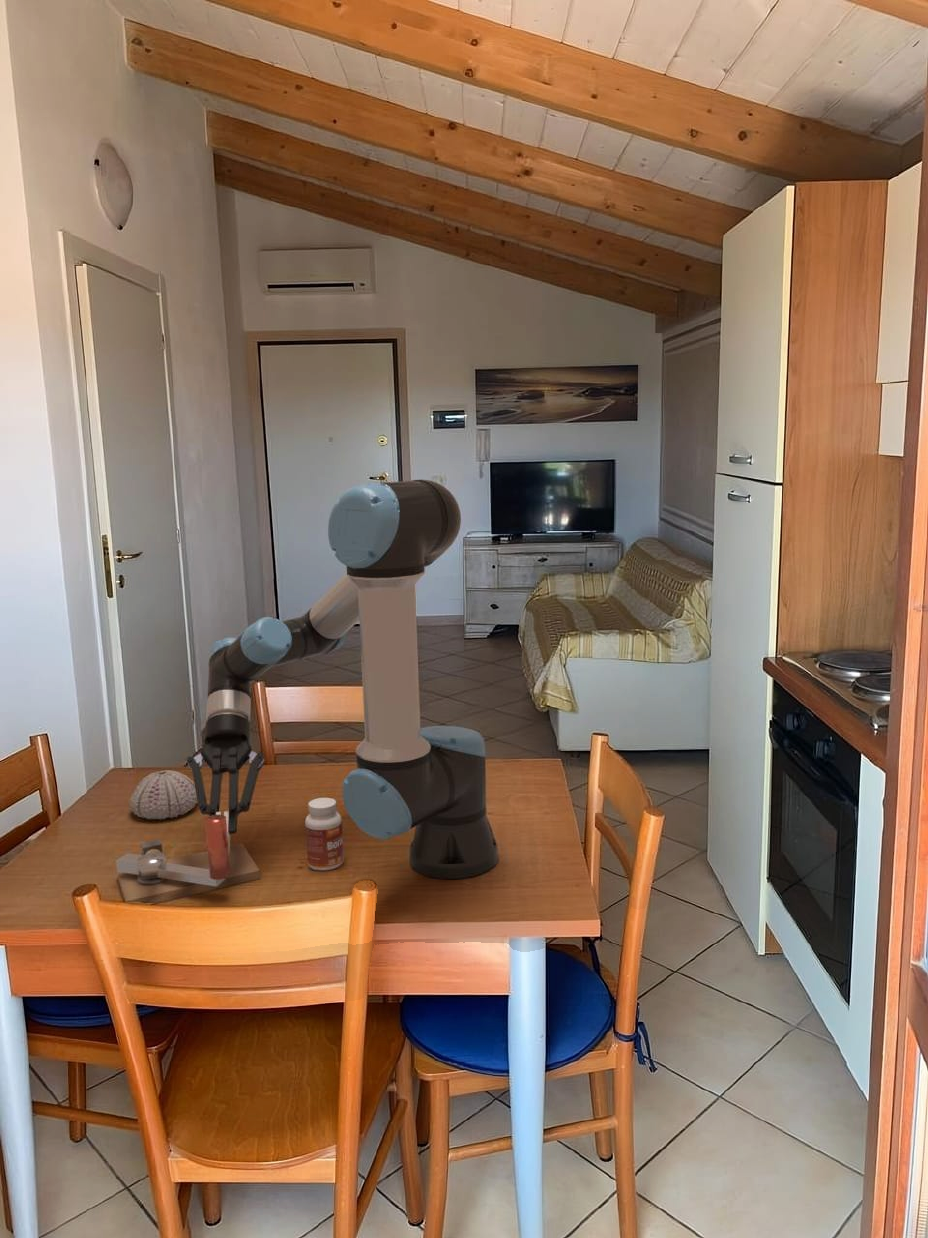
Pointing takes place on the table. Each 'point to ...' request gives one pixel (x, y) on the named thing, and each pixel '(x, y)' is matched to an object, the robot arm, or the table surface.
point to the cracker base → (172, 889)
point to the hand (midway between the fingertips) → (221, 852)
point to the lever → (157, 866)
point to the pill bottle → (324, 835)
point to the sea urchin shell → (163, 795)
